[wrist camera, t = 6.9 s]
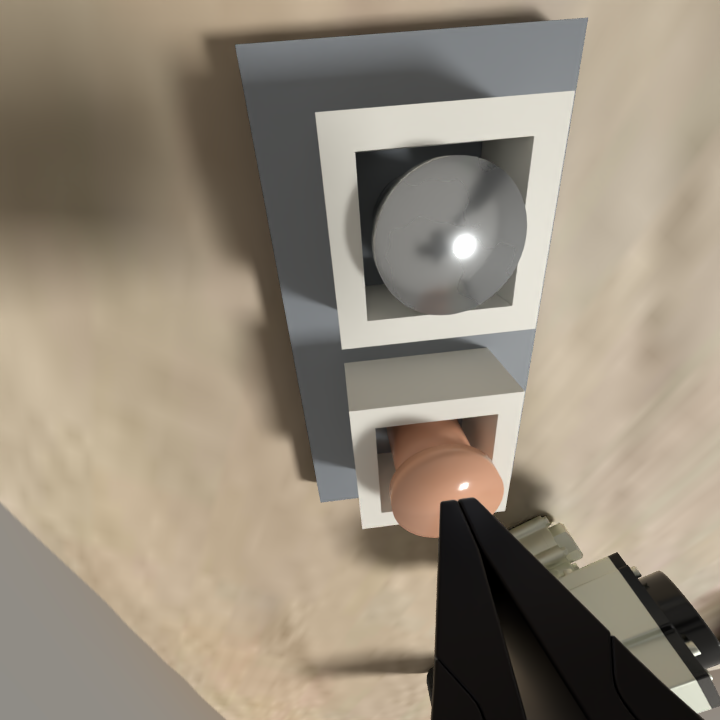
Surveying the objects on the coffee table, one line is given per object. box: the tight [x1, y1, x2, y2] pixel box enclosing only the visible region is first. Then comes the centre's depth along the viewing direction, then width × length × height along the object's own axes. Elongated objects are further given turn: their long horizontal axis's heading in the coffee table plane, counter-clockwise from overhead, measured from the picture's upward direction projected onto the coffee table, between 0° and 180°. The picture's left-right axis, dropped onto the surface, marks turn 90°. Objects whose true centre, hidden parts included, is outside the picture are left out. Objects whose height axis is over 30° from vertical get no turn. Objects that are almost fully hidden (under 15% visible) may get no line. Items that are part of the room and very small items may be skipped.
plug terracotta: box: [387, 419, 504, 538], centre depth 17 cm, size 5×5×5 cm
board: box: [235, 18, 588, 529], centre depth 17 cm, size 12×22×6 cm, turn 4°
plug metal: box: [372, 155, 527, 315], centre depth 13 cm, size 5×5×5 cm
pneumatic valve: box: [509, 516, 720, 713], centre depth 23 cm, size 6×12×12 cm, turn 125°
